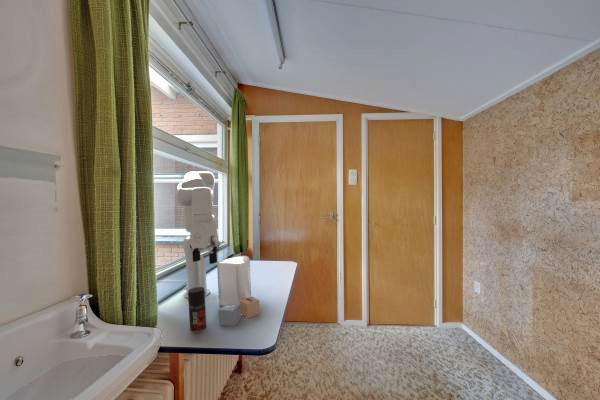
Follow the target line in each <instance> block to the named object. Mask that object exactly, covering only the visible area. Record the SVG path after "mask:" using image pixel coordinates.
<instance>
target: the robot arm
mask: <svg viewBox="0 0 600 400" xmlns="http://www.w3.org/2000/svg"><path fill="white" fill-rule="evenodd" d="M215 185H216V178H215V175H214V174H213V173H212V172H211V171H198V170H197V171H194V170H193V171H189V172H187V173H186V174H185V175H184V177H183V182H180V183H179V184H177V187H176V192H175V194H176V195H175V196H176V201H177V203H178V205H179V206H180V207H183V215H184V217H183V218H184V227H185V231H186V232H187V233H190V235H188V236H186V237H184V238H183V242H182V243H183V244H182V246H183V251H184V255H185V256H184V257H185V268H186V269H185V271H186V285H185V286H184V287H183V290H186V292H185V293H184V295H183V296H184V298H185V299H188V290H190V289H192V288H196V287H203V288H204V289H205V297H207V296H208V295H210V294H211V290H210V289H209V288H208V287H207V286H208V285H207V269H206V267H207V265H206V259H205V257H204V256H203V255H202V254H201V253H205V252H209V253H208V260H209V261H208V263H209V264H210V265H212V264H213V265H214V264H217V262H218V254H217V253H218V251H219V249H220V246H221V241H220V240H219V236H218V225H217V218H216V216H215V215H214V214H213V202H214V199H215V198H214V189H215Z"/></svg>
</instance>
